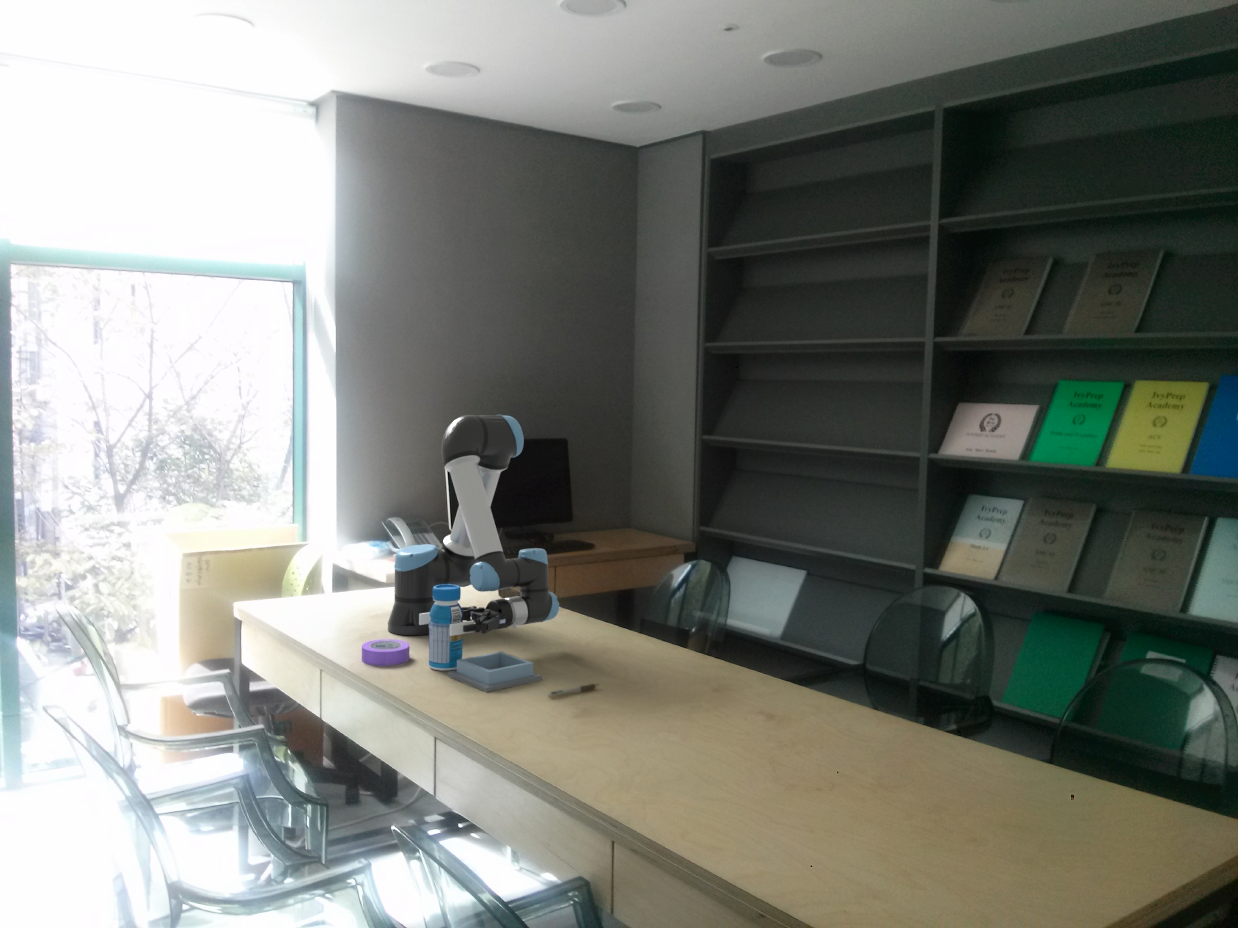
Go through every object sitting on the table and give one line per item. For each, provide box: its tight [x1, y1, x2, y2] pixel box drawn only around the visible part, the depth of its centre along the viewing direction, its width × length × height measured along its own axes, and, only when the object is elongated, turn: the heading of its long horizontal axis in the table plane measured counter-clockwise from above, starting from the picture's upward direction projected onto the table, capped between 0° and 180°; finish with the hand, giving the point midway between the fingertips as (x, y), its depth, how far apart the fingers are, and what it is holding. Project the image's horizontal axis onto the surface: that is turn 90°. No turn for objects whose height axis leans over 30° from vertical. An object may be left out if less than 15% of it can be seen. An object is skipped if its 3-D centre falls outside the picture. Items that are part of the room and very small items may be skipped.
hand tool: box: [497, 588, 521, 599], centre depth 328 cm, size 19×4×5 cm, turn 33°
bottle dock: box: [447, 651, 543, 693], centre depth 241 cm, size 16×16×4 cm
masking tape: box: [361, 638, 410, 666], centre depth 255 cm, size 12×12×4 cm
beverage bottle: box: [428, 584, 464, 672], centre depth 249 cm, size 8×8×20 cm
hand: (434, 624), depth 246 cm, fingers open, 13 cm apart
